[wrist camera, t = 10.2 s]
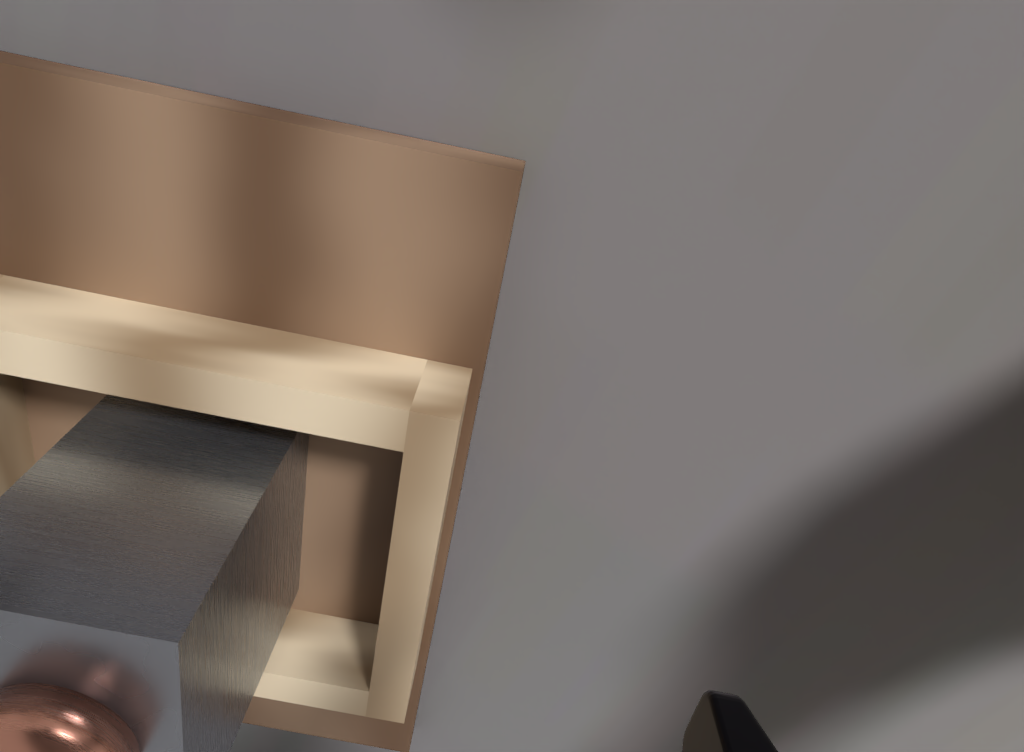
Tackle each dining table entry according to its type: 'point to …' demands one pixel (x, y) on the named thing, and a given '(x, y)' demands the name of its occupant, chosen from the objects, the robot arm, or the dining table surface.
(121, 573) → the block with copper knob
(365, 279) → the chassis bay
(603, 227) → the dining table surface
